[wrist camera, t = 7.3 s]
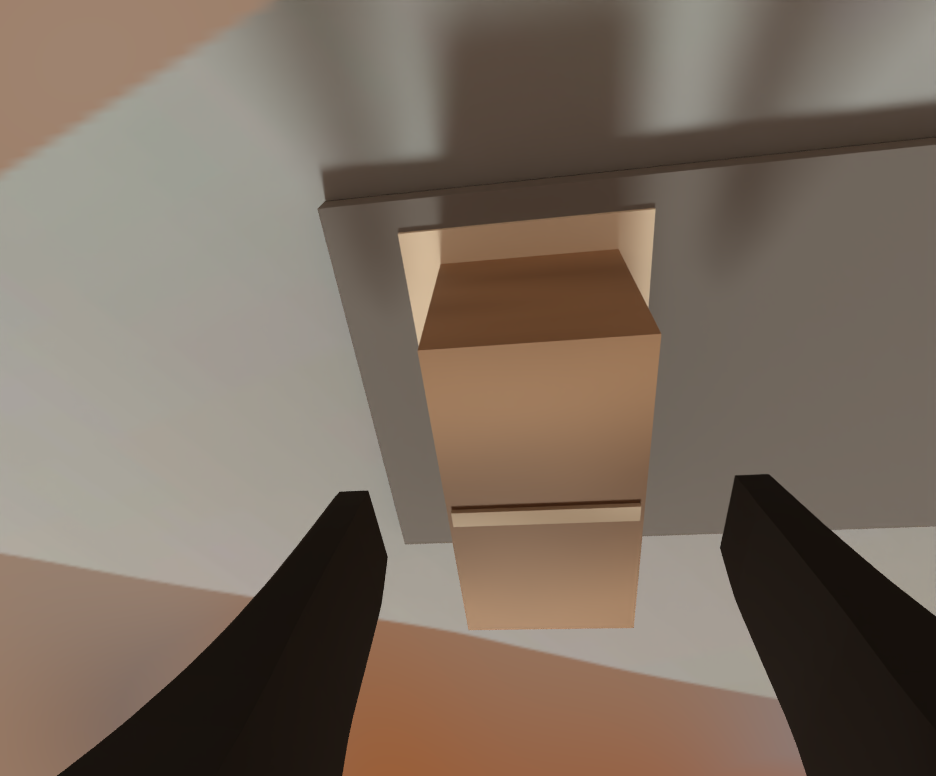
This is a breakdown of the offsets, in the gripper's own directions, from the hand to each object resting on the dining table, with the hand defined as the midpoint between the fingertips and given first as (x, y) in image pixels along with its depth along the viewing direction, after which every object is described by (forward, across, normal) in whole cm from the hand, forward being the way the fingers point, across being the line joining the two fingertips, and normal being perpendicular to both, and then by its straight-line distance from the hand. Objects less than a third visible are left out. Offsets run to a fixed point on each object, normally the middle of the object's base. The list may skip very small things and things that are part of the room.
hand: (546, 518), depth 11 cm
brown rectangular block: (+4, 0, 0) cm, 4 cm away
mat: (+5, -4, 0) cm, 7 cm away
